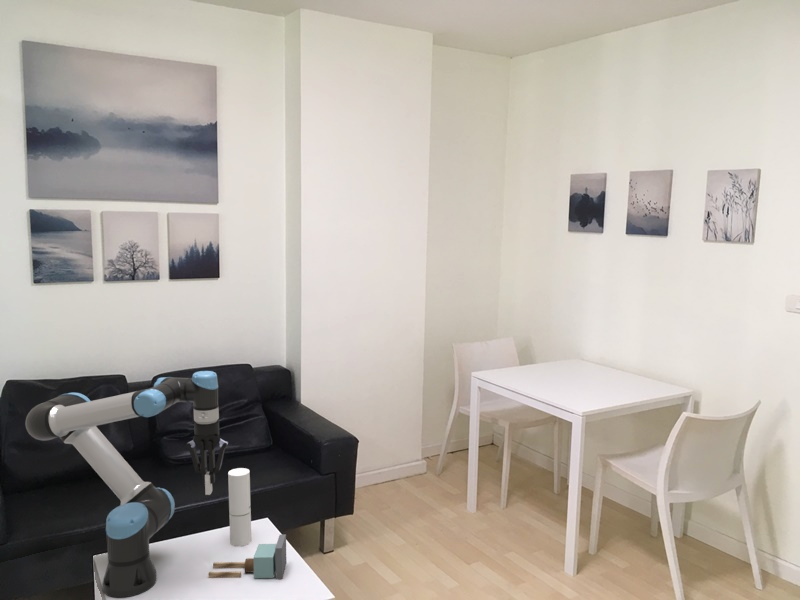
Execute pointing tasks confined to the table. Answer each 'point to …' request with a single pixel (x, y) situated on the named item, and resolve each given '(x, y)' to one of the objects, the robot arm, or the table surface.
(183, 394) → the robot arm
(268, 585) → the table surface
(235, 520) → the cylindrical container
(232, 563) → the rails
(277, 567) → the wall
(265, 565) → the block
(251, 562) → the dowel
